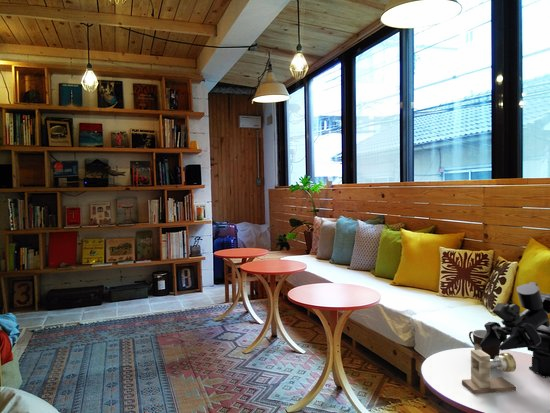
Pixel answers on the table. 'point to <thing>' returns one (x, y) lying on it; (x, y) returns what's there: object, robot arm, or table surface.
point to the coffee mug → (490, 350)
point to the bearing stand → (484, 376)
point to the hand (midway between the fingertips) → (489, 347)
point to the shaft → (504, 362)
